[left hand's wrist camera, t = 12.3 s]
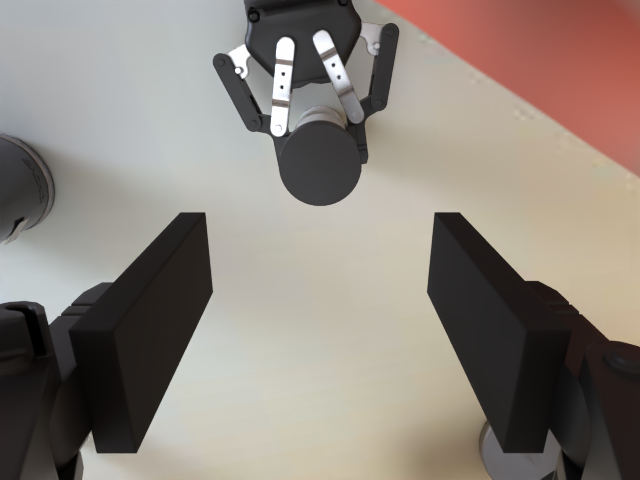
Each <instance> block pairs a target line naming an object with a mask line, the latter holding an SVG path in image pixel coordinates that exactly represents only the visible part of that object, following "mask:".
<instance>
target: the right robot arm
mask: <svg viewBox="0 0 640 480" xmlns="http://www.w3.org/2000/svg"><path fill="white" fill-rule="evenodd" d="M244 4H245V9H246V14H247V20H248V27H247V33H246V36H245V43H244V44H242V45H240V46H239V47H237V48H235V49H233V50H231V51H229V52H228V53H226V54H222V53H219V54H217V55H215V56H214V58H213V65H214V67H215V69H216V71H217V73H218V75H219V77H220V79H221V81H222V82H223V84H224V86H225V88H226V90H227V92H228V94H229V96H230V97H231V99H232V101H233V103H234V105H235V107H236V109H237V111H238V113H239V114H240V116H241V118H242V120H243V122H244V124H245V126H246V127H247V129H248V130H249V131H252V132H256V131H257V132H262V133H267V134H269V135H270V136H271V137H272V138H273V141H274V146H275V151H276V156H277V161H278V166H279V159H280V154H281V151H282V148H283V146H284V144H285V142H286V140H287V138H288V137H289V135H290V134H291V133H292V132H289V128H288V124H289V115H290V106H291V99H292V91H293V89H295V88H300V87H303V86H305V85H307V84H309V83H319V84H323V83H329V82H332V84H333V86H334V88H335V91H336V93H337V95H338V97H339V99H340V101H341V103H342V106H343V108H344V110H345V112H346V117H347V123H345V127H346V131H348V132H349V134H350V135H351V136H352V138H353V139H354V141H355V143H356V145H357V147H358V150H359V153H360V156H361V164H365V163H367V160H368V150H367V142H366V134H365V126H364V124H365V121H366V119H367V118H368V117H369V116H370V115H372V114H374V113H375V112H377V111H381V110H383V109H384V108H385V107H386V105H387V100H388V95H389V89H390V83H391V77H392V71H393V66H394V60H395V54H396V48H397V42H398V37H399V28H398V27H397V25H395V24H393V23H389V24H386V25H380V24H373V23H366V22H361V19H360V17H359V15H358V14H357V12H356V11H355V9H354V7H353V4H352V0H244ZM359 37H362V38H363V39H364V40H365V41H366V49H367V52H368V53H369V54H370V55H373V56H374V63H373V69H372V75H371V82H370V88H369V94H368V96H367V97H365V98H363V99H362V100H360V101H359V100H358V98H357V96H356V94H355V91H354V89H353V86H352V84H351V82H350V80H349V77H348V75H347V73H346V71H345V68H344V67H345V65H346V63H347V61H348V59H349V57H350V55H351V53H352V51H353V49H354V47H355V44H356V42H357V40H358V38H359ZM251 56H252V57H253V58H254V59H255V60H256V61H257V62H258V63H259V64H260V65H261V66H262V67H263V68H264V69H265V70H266V71H267V72H268V73H269V74H270V75H271V76H272V77H273V78H274V88H273V99H272V116H270V115H265V114H262V112H261V110H260V108H259V106H258V104H257V102H256V100H255V98H254V96H253V94H252V92H251V90H250V88H249V86H248V85H247V83H246V81H245V78H246V77H247V76H248V75H249V67H248V60H249V58H250V57H251ZM53 200H54V186H53V181H52V178H51V175H50V173H49V171H48V169H47V167H46V165H45V164H44V162H43V161H42V159H41V158H40V157H39V156H38V155H37V154H36V153H35V152H34V151H33V150H32V149H31V148H30V147H28V146H27V145H26V144H24V143H23V142H21V141H19V140H17V139H15V138H13V137H10V136H7V135H4V134H0V243H2V242H4V241H5V240H7V239H9V240H8V241H7V243H6V244H8V243H10V242H11V241H13V240H15V239H16V237H17V236H18V234H19V233H20V232H22V231H24V230H27V229H29V228H32V227H33V226H35V225H37V224H39V223H40V222H41V221H42V220H43V219H44V218H45V217H46V216H47V215H48V213H49V212H50V210H51V208H52V205H53ZM6 244H5V245H6Z"/></svg>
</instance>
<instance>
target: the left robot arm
mask: <svg viewBox="0 0 640 480" xmlns="http://www.w3.org/2000/svg"><path fill="white" fill-rule="evenodd" d="M212 293H213V287H212V277H211V267H210V256H209V246H208V235H207V225H206V215H205V212H180V213H179V215H178V216H177V217H176V218H175V219H174V220H173V221H172V222H171V223H170V224H169V225H168V226H167V227H166V228H165V229H164V230H163V231H162V232H161V233H160V234H159V235H158V237H157V238H156V239H155V240H154V241H153V242H152V243H151V244H150V245H149V246H148V247H147V248H146V249H145V250H144V251H143V252H142V253H141V254H140V255H139V256H138V257H137V259H136V260H135V261H134V262H133V263H132V264H131V265H130V266H129V267H128V268H127V269H126V270H125V271H124V272H123V273H122V274H121V275H120V276H119V277H118V278H117V279H116V281H115V282H114V283H100V284H98V285H97V286H95V287H93V288H91V289H89V290H87V291H85V292H83V293H82V294H81V295H80V296H79V297H78V298H77V299H76V300H75V301H74V302H73V303H72V304H71V306H69V307H68V308H67V309H66V310H64V311H63V312H62V313H61V316H58V317H57V318H56V319H55V320H54V321H53V322H52V323H51V324H50V325H48V321H47V317H46V313H45V309H44V307H43V306H42V305H40V304H38V303H36V302H28V301H18V302H8V303H3V304H0V480H82V476H83V469H84V467H83V461H82V456H81V452H80V447H81V446H82V444H83V442H84V441H85V439H86V438H87V436H88V434H89V433H90V431H91V430H92V435H93V439H94V443H95V448H96V452H97V453H137V451H138V449H139V447H140V445H141V443H142V441H143V439H144V437H145V434H146V432H147V430H148V428H149V426H150V424H151V422H152V420H153V418H154V415H155V413H156V411H157V409H158V407H159V405H160V403H161V401H162V399H163V396H164V394H165V392H166V390H167V388H168V386H169V384H170V382H171V380H172V377H173V375H174V373H175V371H176V369H177V367H178V365H179V363H180V361H181V358H182V356H183V354H184V352H185V350H186V348H187V346H188V344H189V342H190V339H191V337H192V335H193V333H194V331H195V329H196V327H197V325H198V323H199V321H200V318H201V316H202V314H203V312H204V310H205V308H206V306H207V304H208V302H209V299H210V297H211V295H212ZM427 293H428V295H429V297H430V299H431V302H432V304H433V306H434V308H435V310H436V312H437V314H438V316H439V318H440V321H441V323H442V325H443V327H444V329H445V331H446V333H447V335H448V337H449V339H450V342H451V344H452V346H453V348H454V350H455V352H456V354H457V356H458V358H459V361H460V363H461V365H462V367H463V369H464V371H465V373H466V375H467V377H468V380H469V382H470V384H471V386H472V388H473V390H474V392H475V394H476V396H477V399H478V401H479V403H480V405H481V407H482V409H483V411H484V413H485V415H486V418H487V420H488V421H487V422H486V424H485V426H484V428H483V430H482V433H481V436H480V441H479V450H480V455H481V458H482V461H483V463H484V466H485V468H486V470H487V472H488V474H489V476H490V477H491V478H492V480H640V347H638V346H636V345H632V344H628V343H624V342H620V341H609V340H608V339H607V338H606V337H605V336H604V335H603V334H602V333H601V332H600V331H599V330H598V329H597V328H596V327H595V326H593V325H592V324H591V323H590V322H589V321H588V320H587V319H586V318H585V317H584V316H583V315H582V314H579V311H578V310H577V309H576V308H574V307H573V306H572V305H569V302H568V301H567V300H566V299H565V298H564V297H563V296H562V295H561V294H560V293H559V292H558V291H556V290H554V289H552V288H551V287H549V286H547V285H545V284H543V283H541V282H539V281H524V279H523V278H522V277H521V276H520V275H519V274H518V273H517V272H516V271H515V270H514V269H513V268H512V267H511V266H510V265H509V264H508V263H507V262H506V261H505V260H504V259H503V257H502V256H501V255H500V254H499V253H498V252H497V251H496V250H495V249H494V248H493V247H492V246H491V245H490V244H489V243H488V242H487V241H486V240H485V239H484V238H483V237H482V235H481V234H480V233H479V232H478V231H477V230H476V229H475V228H474V227H473V226H472V225H471V224H470V223H469V222H468V221H467V220H466V219H465V218H464V217H463V216H462V215H461V213H460V212H435V215H434V225H433V235H432V246H431V256H430V267H429V277H428V287H427Z"/></svg>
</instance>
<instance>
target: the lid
mask: <svg viewBox="0 0 640 480" xmlns="http://www.w3.org/2000/svg"><path fill="white" fill-rule="evenodd" d="M279 172H280V176H281V179H282V182H283V184H284V185H285V187H286V188H287V190H288V191H289V192H290V193H291V194H292V195H293V196H294V197H295V198H297V199H298V200H300V201H302V202H304V203H306V204H309V205H314V206H326V205H331V204H334V203H337V202H339V201H341V200H342V199H344V198H345V197H346V196H348V195H349V194H350V193H351V192H352V190H353V189H354V188H355V186H356V184H357V182H358V180H359V178H360V174H361V156H360V153H359V150H358V147H357V145H356V143H355V141H354V139H353V138H352V136H351V135H350V134H349V132H348V131H346V130H345V129H344V128H343V127H341V126H340V125H338V124H336V123H333V122H330V121H326V120H315V121H310V122H307V123H304V124H302V125H301V126H299V127H298V128H296V129H295V130H294V131H293V132H292V133H291V134H290V135H289V137H288V138H287V140H286V142H285V144H284V146H283V148H282V151H281V154H280V159H279Z"/></svg>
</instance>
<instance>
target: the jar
mask: <svg viewBox="0 0 640 480" xmlns="http://www.w3.org/2000/svg"><path fill="white" fill-rule="evenodd" d="M315 120H326V121H330V122H333V123H336V124H338V125H340V126H341V127H343V128H344V129H345V127H344V124H343V122H342V120H341V118H340V116H339V115H338V114H337V113H336V112H335V111H334V110H332V109H330V108H328V107H324V106H316V107H312V108H310V109H308V110H307V111H305V112H304V113H303V114H302V115H301V117H300V118H299V120H298V123H297V125H296V128H298V127H299V126H301V125H302V124H304V123H307V122H310V121H315ZM296 128H295V129H296ZM345 130H346V129H345Z"/></svg>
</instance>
